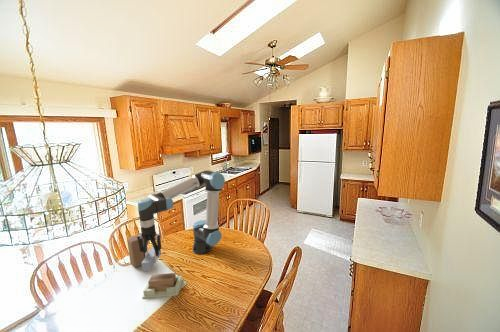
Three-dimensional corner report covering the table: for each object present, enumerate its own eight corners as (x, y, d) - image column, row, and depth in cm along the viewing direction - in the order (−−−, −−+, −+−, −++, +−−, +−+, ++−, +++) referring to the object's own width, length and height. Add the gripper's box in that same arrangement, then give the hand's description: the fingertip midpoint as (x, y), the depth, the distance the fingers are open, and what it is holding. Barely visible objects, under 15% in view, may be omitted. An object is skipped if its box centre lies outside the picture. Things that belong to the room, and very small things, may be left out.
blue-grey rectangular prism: (154, 254, 135) (153, 247, 134) (161, 253, 135) (160, 246, 134) (142, 270, 119) (141, 262, 118) (150, 270, 119) (149, 262, 118)
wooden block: (149, 261, 153) (146, 236, 150) (134, 268, 146) (131, 242, 143) (144, 256, 160) (141, 232, 157) (130, 262, 153) (126, 237, 149)
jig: (151, 282, 132) (150, 276, 131) (183, 279, 133) (182, 274, 133) (142, 298, 119) (141, 292, 119) (177, 295, 121) (177, 289, 120)
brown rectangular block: (153, 284, 128) (152, 274, 127) (176, 282, 130) (175, 272, 128) (149, 292, 123) (148, 281, 121) (173, 290, 124) (172, 279, 122)
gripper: (129, 229, 119) (134, 265, 123) (160, 227, 119) (164, 264, 123) (135, 223, 126) (140, 258, 130) (165, 221, 127) (168, 256, 131)
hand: (152, 260), depth 127 cm, fingers closed on blue-grey rectangular prism, 4 cm apart
